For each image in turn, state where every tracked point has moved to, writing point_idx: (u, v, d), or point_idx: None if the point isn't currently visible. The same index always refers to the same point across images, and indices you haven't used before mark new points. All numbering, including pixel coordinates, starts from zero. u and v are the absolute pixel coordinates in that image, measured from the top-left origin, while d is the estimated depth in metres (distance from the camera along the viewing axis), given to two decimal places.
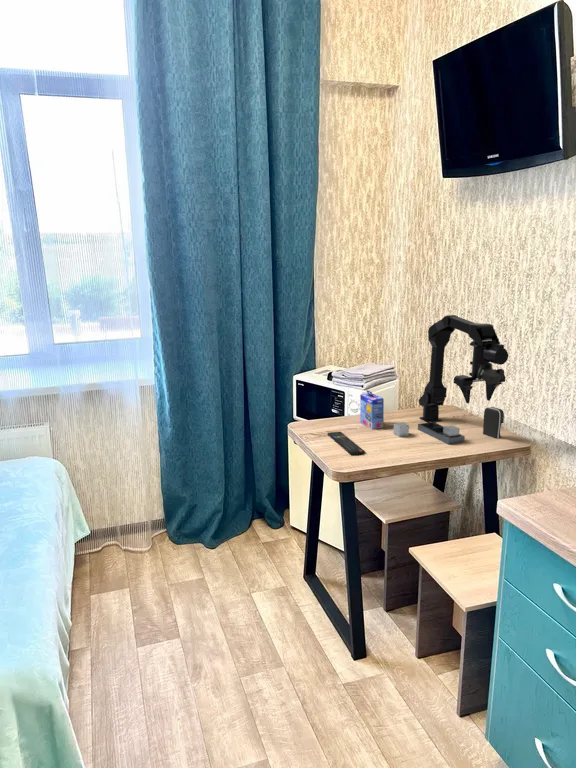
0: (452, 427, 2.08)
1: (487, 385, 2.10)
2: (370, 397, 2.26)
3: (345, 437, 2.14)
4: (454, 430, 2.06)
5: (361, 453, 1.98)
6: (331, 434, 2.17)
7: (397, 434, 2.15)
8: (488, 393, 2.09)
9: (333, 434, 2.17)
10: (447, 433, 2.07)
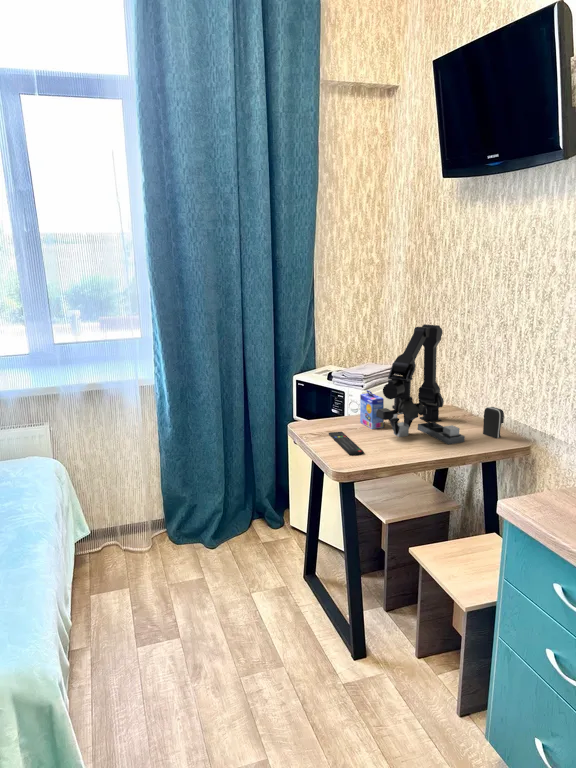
0: (452, 427, 2.08)
1: (405, 418, 2.17)
2: (370, 397, 2.26)
3: (346, 437, 2.14)
4: (454, 430, 2.06)
5: (360, 453, 1.98)
6: (332, 434, 2.18)
7: (397, 434, 2.15)
8: None
9: (334, 434, 2.17)
10: (447, 433, 2.07)
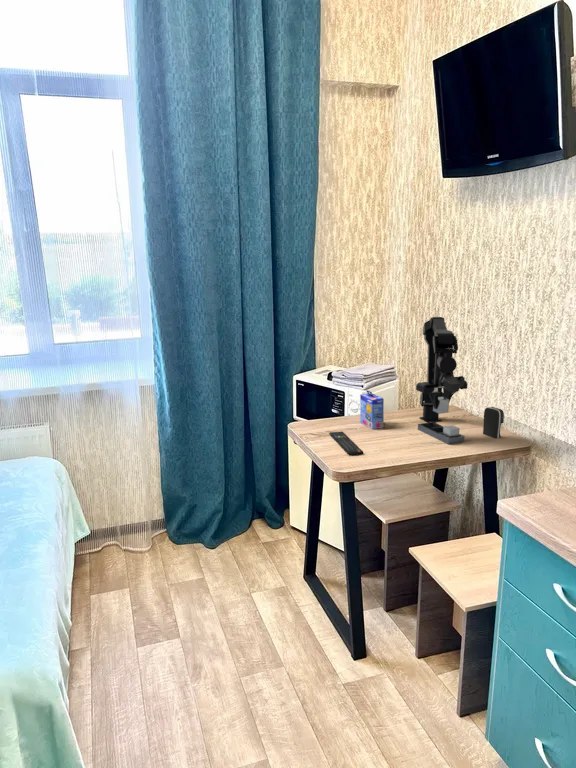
0: (452, 427, 2.08)
1: (444, 392, 2.13)
2: (370, 397, 2.26)
3: (346, 437, 2.14)
4: (454, 430, 2.06)
5: (359, 453, 1.98)
6: (332, 434, 2.18)
7: (437, 408, 2.11)
8: None
9: (334, 434, 2.17)
10: (447, 433, 2.07)
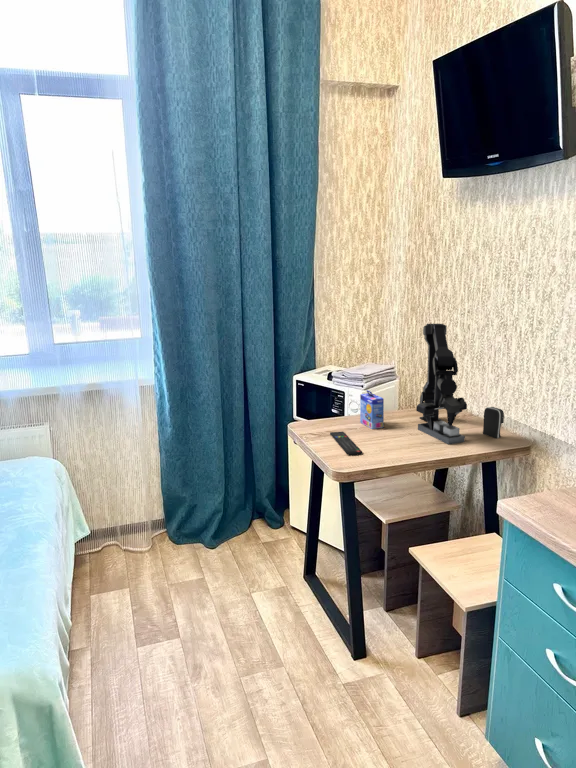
0: (452, 427, 2.08)
1: (448, 412, 2.16)
2: (370, 397, 2.26)
3: (346, 437, 2.14)
4: (454, 430, 2.06)
5: (358, 453, 1.98)
6: (333, 434, 2.18)
7: None
8: (449, 420, 2.15)
9: (335, 434, 2.17)
10: (447, 433, 2.07)
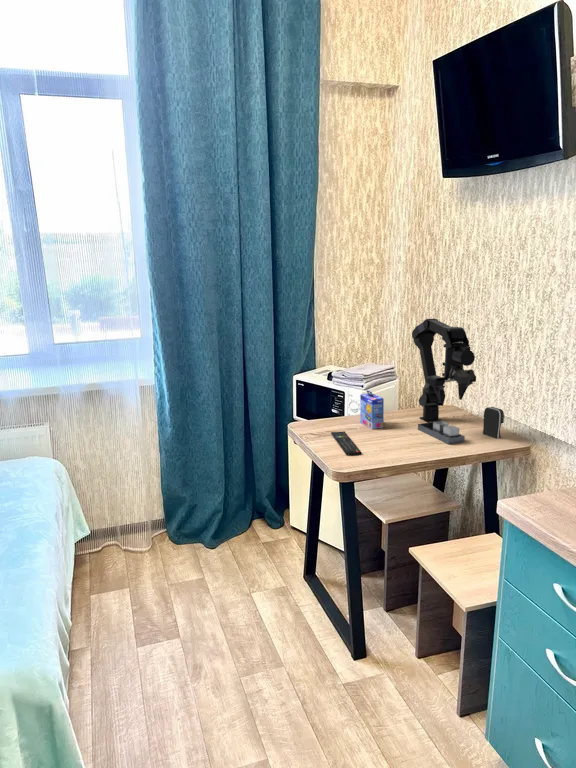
0: (452, 427, 2.08)
1: (459, 385, 2.22)
2: (370, 397, 2.26)
3: (347, 437, 2.14)
4: (454, 430, 2.06)
5: (357, 453, 1.98)
6: (334, 434, 2.18)
7: None
8: (460, 392, 2.21)
9: (336, 434, 2.17)
10: (447, 433, 2.07)
